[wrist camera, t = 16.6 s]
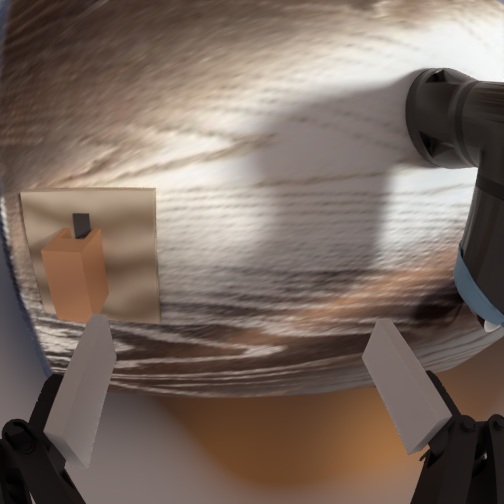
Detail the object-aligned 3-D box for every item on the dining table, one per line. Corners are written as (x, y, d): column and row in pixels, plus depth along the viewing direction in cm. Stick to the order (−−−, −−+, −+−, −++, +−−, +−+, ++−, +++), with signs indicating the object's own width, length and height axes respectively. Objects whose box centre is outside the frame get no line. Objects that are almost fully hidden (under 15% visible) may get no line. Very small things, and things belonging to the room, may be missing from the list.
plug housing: (64, 227, 36) (40, 250, 30) (100, 228, 37) (80, 252, 30) (75, 290, 40) (58, 319, 34) (109, 293, 41) (94, 323, 35)
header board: (25, 189, 34) (8, 199, 30) (155, 188, 37) (148, 198, 33) (49, 307, 43) (38, 323, 39) (161, 317, 45) (157, 337, 41)
